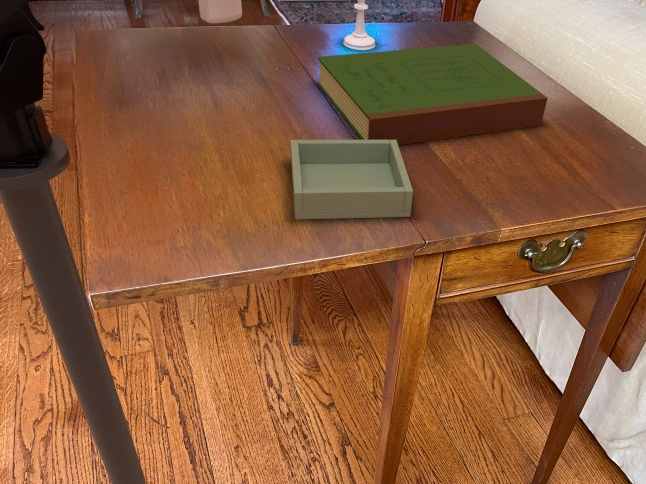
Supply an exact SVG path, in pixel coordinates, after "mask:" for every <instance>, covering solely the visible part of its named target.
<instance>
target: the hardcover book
mask: <svg viewBox="0 0 646 484" xmlns="http://www.w3.org/2000/svg"><path fill="white" fill-rule="evenodd" d="M317 60H318V61H319V82H317V85H318V87H319V88H320V89H321V91H322V92H323V93H324V94H325V96H326V97H327V98H328V99H329V101H330V102H331V103H332V104H333V106H334V107H335V108H336V110H337V111H338V112H339V113H340V115H341V116H342V117H343V118H344V119H345V121H346V122H347V124H348V125H349V126H350V127H351V128H352V130H353V131H354V133H356V135H357V136H358V137H359V138H360V140H397V143H398V146H402V145H411V144H417V143H424V142H432V141H439V140H446V139H454V138H459V137H467V136H468V137H469V136H475V135H482V134H487V133H488V134H490V133H496V132H497V133H498V132H504V131H511V130H517V129H523V128H525V129H526V128H531V127H539V126H542V122H543V119H544V115H545V111H546V107H547V103H548V99H549V98H548V96H546V95H545V94H544V93H542V92H541V91H540V90H538V89H536V88H535V87H534V86H533V85H532V84H530V83H529V82H528V81H526V80H525V79H524V78H522V76H519V75H518V74H517V73H515V72H514V71H513V70H512V69H510V68H509V67H508V66H506V65H505V64H504V63H502V62H501V61H499V60H498V59H497V58H495V57H494V56H493V55H492V54H491V53H489V52H487V51H486V50H485V49H484V48H482V47H481V46H480V45H478V44H477V43H469V44H455V45H445V46H433V47H432V46H431V47H421V48H408V49H406V48H405V49H395V50H383V51H372V52H360V53H359V52H357V53H346V54H334V55H322V56H320V55H319V56H317Z"/></svg>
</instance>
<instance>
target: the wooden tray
mask: <svg viewBox="0 0 646 484" xmlns="http://www.w3.org/2000/svg"><path fill="white" fill-rule="evenodd" d="M290 165H291V166H290V167H291V180H292V182H291V183H292V193H293V196H292V197H293V209H294V210H293V211H294V220H296V221H297V220H332V219H334V220H335V219H336V220H337V219H339V220H340V219H377V218H378V219H379V218H381V219H382V218H411V216H412V215H411V214H412V206H413V204H412V203H413V197H414V190H413V186H412V184H411V181H410V180H411V179H410V176H409V174H408V171H407V168H406V165H405V162H404V158H403V156H402V153H401V149H400V145H398V143H397V140H361V139H290Z"/></svg>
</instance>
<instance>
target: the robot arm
mask: <svg viewBox="0 0 646 484" xmlns="http://www.w3.org/2000/svg"><path fill="white" fill-rule="evenodd" d="M45 29H46V27H45V26H44V25H42V24H41V23H40V22H39V21H38V19H37V18H36V17H35V16H34V13H33V12H32V10H31V7H30V5H29V2H28V0H0V169H34V168H37V167H39V166H40V163H41V161H42V159H43V157H44V155H45V154H46V153H47V151H48V149H49V147H50V145H51V143H52V136H51V135H50V133H49V132H50V130H49V127H48V124H47V120H46V117H45V113H44V110H43V107H42V106H41V105H39V104H36V103H37V102H39V101H41V100H44V99H43V98H44V71H45V70H44V69H45V68H44V65H45V64H44V62H45V56H46V55H47V46H46V42H45V40H44V37H43V35H42V34H41V32H44V31H45Z"/></svg>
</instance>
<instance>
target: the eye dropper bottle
mask: <svg viewBox="0 0 646 484" xmlns="http://www.w3.org/2000/svg"><path fill="white" fill-rule="evenodd" d="M198 10H199V16H200V19H201V20H202V21H204V22H206V23H208V24H214V25H215V24H225V23H231V22H234V21H237V20H240V19H241V18H242V16H243V6H242V0H198Z"/></svg>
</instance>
